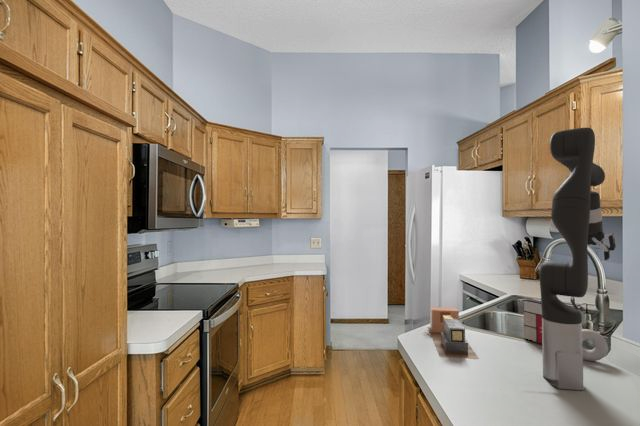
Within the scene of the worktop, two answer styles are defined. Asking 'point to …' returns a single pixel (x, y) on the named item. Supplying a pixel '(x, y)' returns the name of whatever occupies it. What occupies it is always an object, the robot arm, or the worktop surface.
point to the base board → (437, 341)
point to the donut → (599, 342)
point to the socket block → (441, 317)
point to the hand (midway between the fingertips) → (592, 258)
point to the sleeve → (447, 341)
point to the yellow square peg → (454, 333)
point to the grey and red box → (533, 320)
